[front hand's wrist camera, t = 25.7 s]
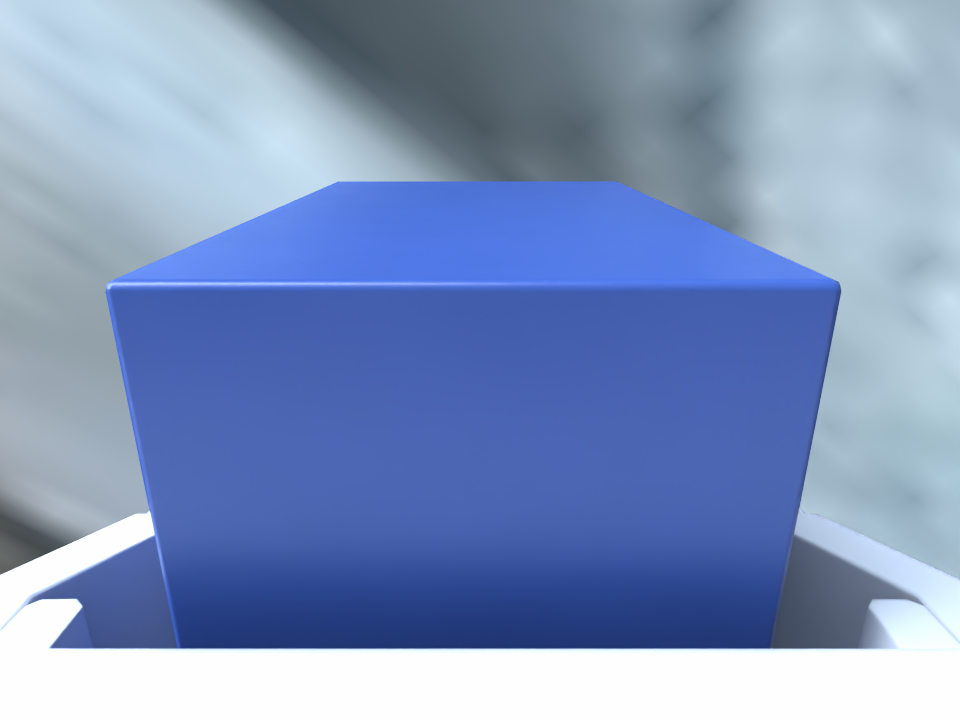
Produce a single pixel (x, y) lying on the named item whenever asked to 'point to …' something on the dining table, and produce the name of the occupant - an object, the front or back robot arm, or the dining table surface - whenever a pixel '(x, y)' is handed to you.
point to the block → (474, 421)
